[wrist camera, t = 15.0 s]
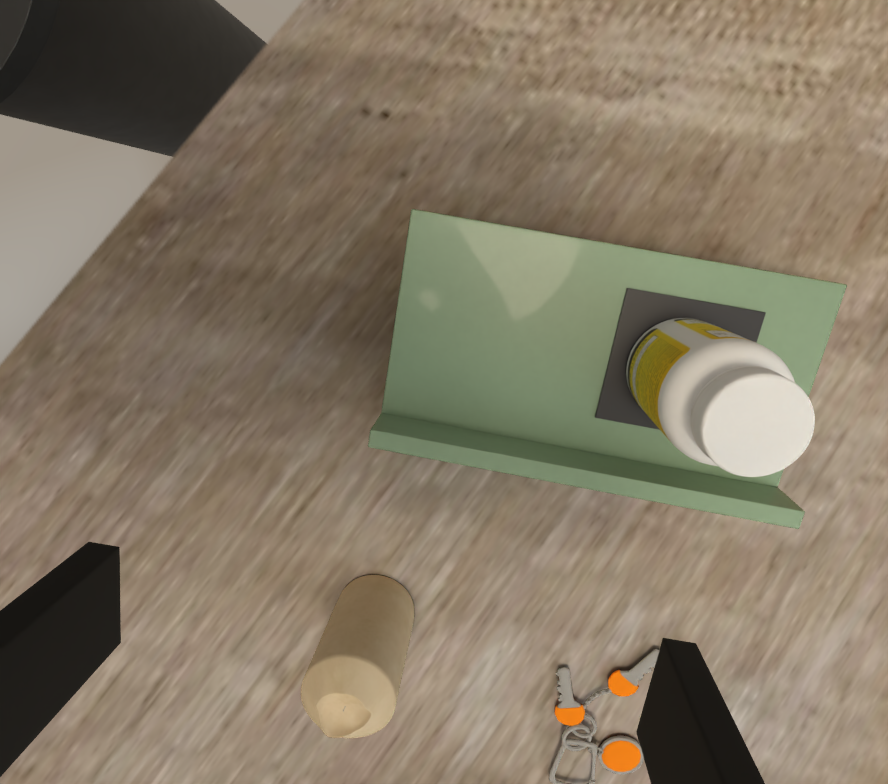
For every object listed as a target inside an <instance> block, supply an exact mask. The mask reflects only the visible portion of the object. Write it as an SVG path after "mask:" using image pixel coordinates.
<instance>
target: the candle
mask: <svg viewBox="0 0 888 784" xmlns="http://www.w3.org/2000/svg"><path fill="white" fill-rule="evenodd" d="M413 622H414V604H413V601H412V598H411V596H410V594H409V593H408V592H407V590H406V589H405V588H404V587H403V586H402V585H401V584H399V583H398V582H397V581H395V580H393V579H391V578H388V577H385V576H381V575H366V576H362V577H359V578H357V579H355V580H353V581H352V582H350V583H349V584H348V585H347V586H346V587H345V589H344V590H343V591H342V593H341V595H340V597H339V599H338V601H337V603H336V605H335V608H334V610H333V612H332V614H331V617H330V619H329V621H328V624H327V626H326V628H325V631H324V633H323V635H322V637H321V640H320V642H319V644H318V647H317V649H316V651H315V654H314V656H313V658H312V660H311V663H310V665H309V667H308V670H307V672H306V674H305V677H304V679H303V682H302V685H301V700H302V703H303V706H304V708H305V710H306V712H307V714H308V715H309V716H310V718H311V719H312V720H313V721H314V722H315V723H316V724H317V725H318V726H319V727H320V728H321V730H322V731H323V733H324V734H325V735H326V736H327V737H330V738H340V737H342V738H360V737H365V736H369V735H371V734H374V733H376V732H378V731H379V730H381V729H382V728H384V727H385V726H386V725H387V724H388V722H389V721H390V720H391V718H392V716H393V714H394V711H395V707H396V702H397V697H398V693H399V688H400V683H401V679H402V674H403V669H404V665H405V660H406V655H407V651H408V646H409V641H410V637H411V632H412V627H413Z"/></svg>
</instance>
